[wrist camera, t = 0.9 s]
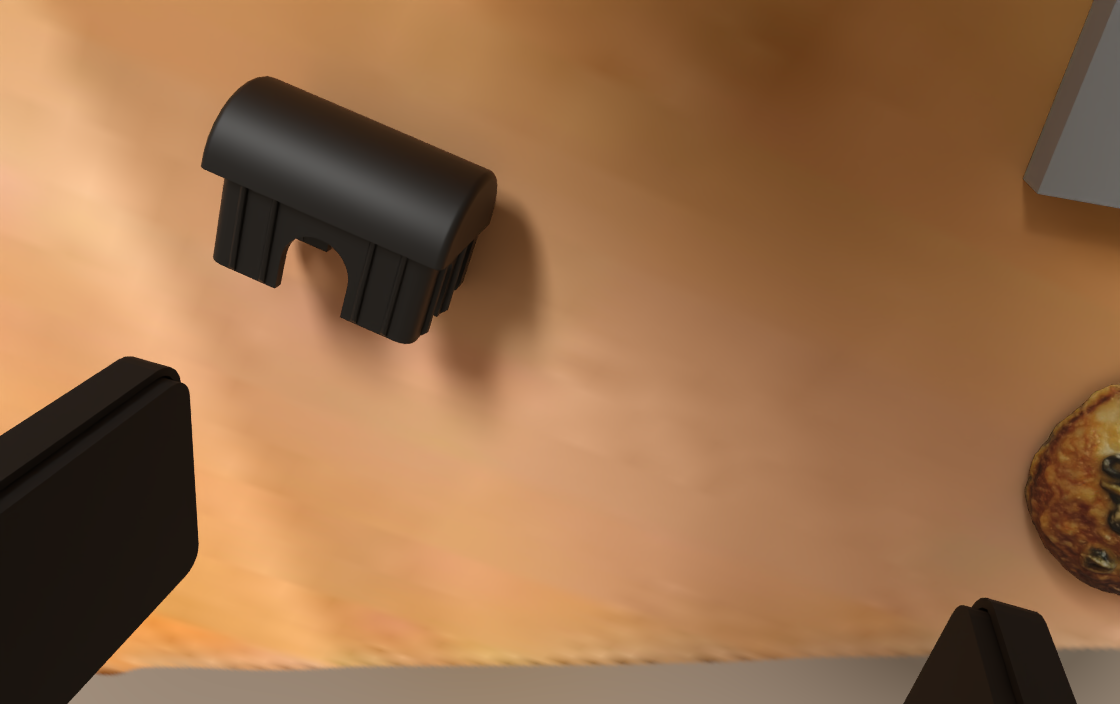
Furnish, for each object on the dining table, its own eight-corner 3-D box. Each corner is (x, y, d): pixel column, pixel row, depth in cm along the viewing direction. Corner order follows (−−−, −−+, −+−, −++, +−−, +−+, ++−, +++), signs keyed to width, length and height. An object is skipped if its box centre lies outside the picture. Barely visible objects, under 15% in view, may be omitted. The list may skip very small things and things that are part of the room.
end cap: (516, 153, 35) (463, 197, 29) (470, 294, 39) (414, 359, 33) (302, 61, 36) (207, 87, 30) (275, 209, 39) (185, 258, 33)
